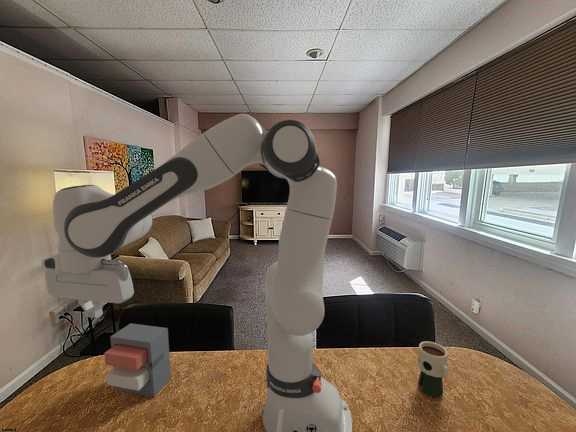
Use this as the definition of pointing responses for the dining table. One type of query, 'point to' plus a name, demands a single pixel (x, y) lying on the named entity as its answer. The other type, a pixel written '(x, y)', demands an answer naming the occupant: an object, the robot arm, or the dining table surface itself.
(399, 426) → the dining table surface
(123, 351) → the red button
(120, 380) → the pale button
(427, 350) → the character mug
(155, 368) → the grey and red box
